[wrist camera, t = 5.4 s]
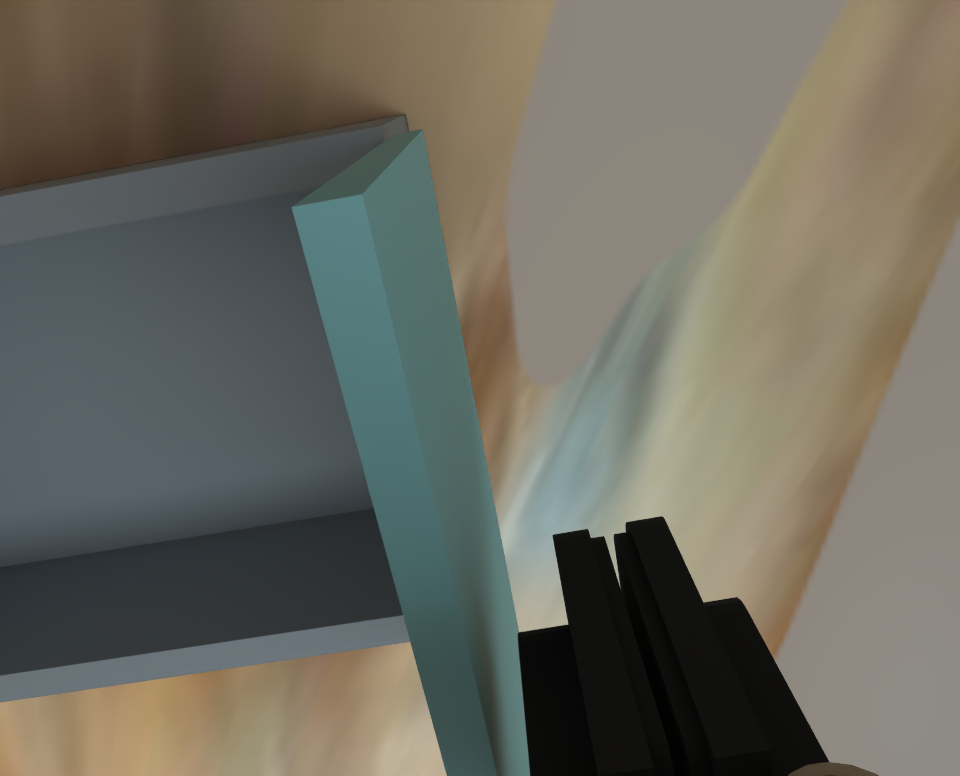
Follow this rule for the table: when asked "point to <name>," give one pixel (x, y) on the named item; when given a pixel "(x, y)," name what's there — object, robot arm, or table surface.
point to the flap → (420, 443)
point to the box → (178, 426)
